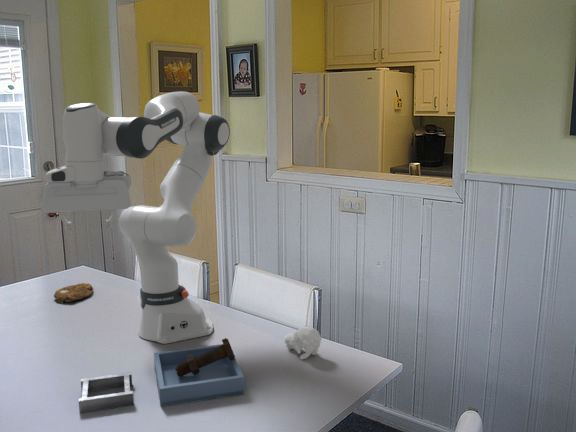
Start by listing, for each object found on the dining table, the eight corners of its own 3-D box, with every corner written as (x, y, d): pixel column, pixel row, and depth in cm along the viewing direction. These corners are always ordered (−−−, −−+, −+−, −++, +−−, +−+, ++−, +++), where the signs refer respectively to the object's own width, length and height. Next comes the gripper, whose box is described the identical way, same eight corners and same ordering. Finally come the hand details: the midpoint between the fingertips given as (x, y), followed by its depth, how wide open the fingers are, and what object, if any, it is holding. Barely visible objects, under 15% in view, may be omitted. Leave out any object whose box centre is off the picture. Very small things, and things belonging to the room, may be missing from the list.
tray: (228, 358, 158) (228, 343, 157) (244, 394, 140) (243, 377, 139) (154, 368, 153) (153, 352, 152) (160, 406, 134) (159, 389, 133)
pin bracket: (132, 383, 145) (131, 372, 144) (133, 405, 135) (132, 393, 134) (81, 390, 141) (81, 379, 141) (79, 413, 131) (78, 401, 131)
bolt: (181, 382, 147) (235, 358, 150) (179, 383, 142) (235, 358, 145) (173, 360, 148) (227, 337, 151) (171, 361, 143) (227, 337, 146)
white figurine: (306, 333, 154) (277, 324, 163) (308, 363, 155) (279, 352, 164) (322, 326, 158) (293, 318, 167) (324, 356, 159) (295, 346, 168)
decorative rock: (76, 289, 216) (48, 304, 203) (75, 279, 215) (46, 293, 202) (101, 291, 212) (74, 306, 199) (100, 281, 212) (73, 295, 198)
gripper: (129, 169, 143) (132, 223, 146) (41, 172, 137) (45, 228, 140) (130, 172, 137) (133, 228, 140) (38, 175, 131) (43, 234, 134)
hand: (89, 228), depth 140 cm, fingers open, 8 cm apart
